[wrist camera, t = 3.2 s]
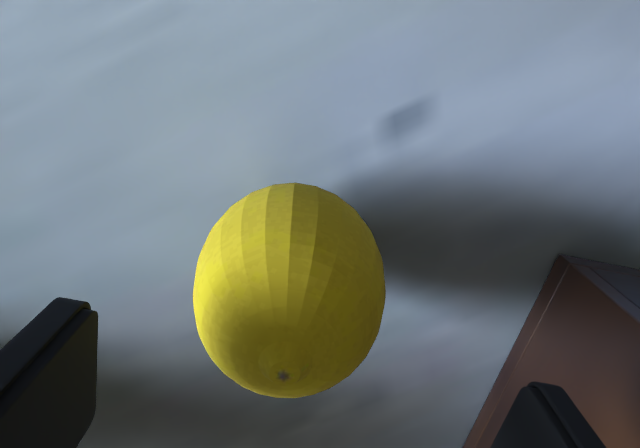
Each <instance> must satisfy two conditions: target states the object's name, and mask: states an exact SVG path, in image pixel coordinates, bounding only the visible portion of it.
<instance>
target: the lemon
mask: <svg viewBox="0 0 640 448" xmlns="http://www.w3.org/2000/svg"><path fill="white" fill-rule="evenodd" d="M385 292H386V290H385V279H384V269H383V261H382V257H381V254H380V252H379V249H378V247H377V244H376V242H375V239H374V237H373V234H372V232H371V230H370V229H369V227H368V226H367V225H366V223H365V222H364V221H363V219H362V218H361V217H360V215H359V214H358V213H357V212H356V210H355V209H354V208H353V207H351V206H350V205H349V204H347V203H346V202H345V201H343V200H342V199H341V198H339V197H338V196H337V195H335V194H333V193H331V192H328V191H326V190H323V189H321V188H319V187H316V186H311V185H305V184H299V183H287V184H275V185H272V186H269V187H266V188H263V189H260V190H257V191H254V192H252V193H250V194H249V195H247V196H246V197H244V198H243V199H241V200H240V201H238V202H236V203H235V204H234V205H232V206H231V207H230V208H229V209H228V210H227V212H226V213H225V214H224V215H223V216H222V217H221V218H220V219H219V221H218V222H217V223H216V224H215V225H214V226H213V228H212V230H211V231H210V233H209V235H208V238H207V240H206V242H205V244H204V246H203V248H202V251H201V253H200V256H199V258H198V263H197V268H196V275H195V282H194V290H193V305H194V312H195V319H196V325H197V330H198V333H199V336H200V338H201V340H202V343H203V345H204V347H205V349H206V351H207V353H208V354H209V356H210V358H211V359H212V360H213V362H214V363H215V364H216V365H217V366H218V367H219V368H220V370H221V371H222V372H223V373H224V374H225V375H227V376H228V377H229V378H231V379H232V380H234V381H235V382H236V383H238V384H239V385H241V386H242V387H244V388H246V389H248V390H251V391H253V392H256V393H258V394H261V395H266V396H271V397H276V398H299V397H304V396H310V395H314V394H317V393H319V392H322V391H324V390H327V389H329V388H331V387H333V386H334V385H336V384H337V383H339V382H340V381H342V380H343V379H345V378H346V377H348V376H349V375H350V374H351V373H352V372H353V371H354V370H355V369H356V368H357V367H358V366H359V365H360V363H361V362H362V361H363V360H364V359H365V358H366V356H367V354H368V352H369V351H370V349H371V347H372V345H373V343H374V341H375V339H376V337H377V334H378V332H379V328H380V324H381V319H382V314H383V309H384V304H385Z"/></svg>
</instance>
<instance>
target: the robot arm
mask: <svg viewBox="0 0 640 448" xmlns="http://www.w3.org/2000/svg"><path fill="white" fill-rule="evenodd" d="M97 340H98V313H97V312H96V311H93V310H91V307H90V304H89V303H88V302H84V301H78V300H73V299H67V298H61V297H59V298H56V299H55V300H53V301H52V302H51V303H50V304H49V305H48V306H47V307H46V308H45V309H44V310H42V311H41V312H40V313H39V314H38V315H37V316H36V317H35V318H34V319H33V320H32V321H31V322H30V323H29V324H28V325H26V326H25V327H24V328H23V329H22V330H21V331H20V332H19V333H18V334H17V335H16V336H15V337H14V338H13V339H12V340H11V341H9V342H8V343H7V344H6V345H5V346H4V347H3V348H2V349H1V350H0V448H77V446H78V444H79V443H80V441H81V439H82V438H83V436H84V434H85V433H86V431H87V429H88V428H89V426H90V424H91V422H92V420H93V417H94V414H95V410H96V382H97ZM490 448H606V447H605V445H604V444H603V442H602V441H601V440H600V438H599V437H598V436H597V434H596V433H595V431H594V430H593V429H592V427H591V426H590V425H589V423H588V422H587V420H586V419H585V418H584V416H583V415H582V414H581V412H580V411H579V410H578V408H577V407H576V405H575V404H574V403H573V401H572V400H571V399H570V397H569V396H568V394H567V393H566V392H565V390H564V389H563V388H562V387H560V386H558V385H553V384H547V383H541V382H536V381H534V382H530V383H529V384H528V385H527V386H526V387H522V388H521V389H520V391H519V393H518V395H517V397H516V398H515V400H514V402H513V404H512V406H511V408H510V410H509V412H508V414H507V416H506V418H505V420H504V422H503V424H502V426H501V428H500V429H499V431H498V433H497V435H496V437H495V439H494V441H493V443H492V445H491V447H490Z"/></svg>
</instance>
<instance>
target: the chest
mask: <svg viewBox="0 0 640 448" xmlns="http://www.w3.org/2000/svg"><path fill="white" fill-rule="evenodd" d="M534 381H536V382H541V383H547V384H553V385H558V386H560V387H562V388H563V389H564V390H565V392H566V393H567V394H568V396H569V397H570V399H571V400H572V401H573V403H574V404H575V405H576V407H577V408H578V410H579V411H580V412H581V414H582V415H583V416H584V418H585V419H586V420H587V422H588V423H589V425H590V426H591V427H592V429H593V430H594V431H595V433H596V434H597V436H598V437H599V438H600V440H601V441H602V442H603V444H604V445H605V447H606V448H640V270H637V269H632V268H627V267H622V266H617V265H612V264H607V263H602V262H597V261H592V260H586V259H581V258H576V257H571V256H566V255H561V254H559V256H558V258H557V260H556V262H555V264H554V266H553V268H552V270H551V272H550V274H549V276H548V278H547V280H546V282H545V284H544V286H543V288H542V290H541V292H540V294H539V296H538V298H537V300H536V302H535V304H534V306H533V308H532V310H531V312H530V314H529V316H528V318H527V320H526V322H525V324H524V326H523V328H522V330H521V332H520V334H519V336H518V338H517V340H516V342H515V344H514V346H513V348H512V350H511V352H510V354H509V356H508V358H507V360H506V362H505V364H504V366H503V368H502V370H501V372H500V374H499V376H498V378H497V380H496V382H495V384H494V386H493V388H492V390H491V392H490V394H489V396H488V398H487V400H486V402H485V404H484V406H483V408H482V410H481V412H480V414H479V416H478V418H477V420H476V422H475V424H474V426H473V428H472V430H471V432H470V434H469V436H468V438H467V440H466V442H465V444H464V446H463V448H490V447H491V445H492V443H493V441H494V439H495V437H496V435H497V433H498V431H499V429H500V428H501V426H502V424H503V422H504V420H505V418H506V416H507V414H508V412H509V410H510V408H511V406H512V404H513V402H514V400H515V398H516V397H517V395H518V393H519V391H520V389H521V388H522V387H526V386H527V385H528V384H529V383H530V382H534Z"/></svg>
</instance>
